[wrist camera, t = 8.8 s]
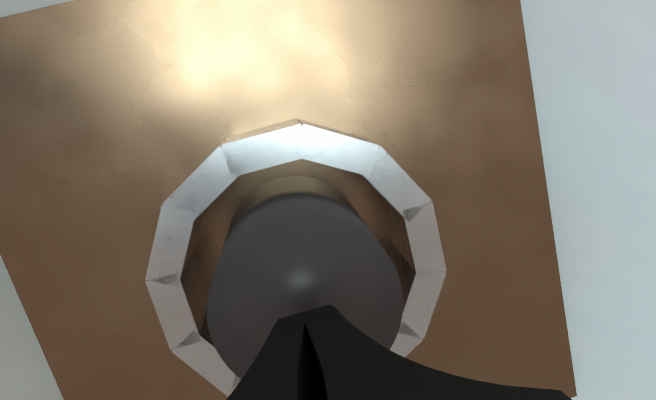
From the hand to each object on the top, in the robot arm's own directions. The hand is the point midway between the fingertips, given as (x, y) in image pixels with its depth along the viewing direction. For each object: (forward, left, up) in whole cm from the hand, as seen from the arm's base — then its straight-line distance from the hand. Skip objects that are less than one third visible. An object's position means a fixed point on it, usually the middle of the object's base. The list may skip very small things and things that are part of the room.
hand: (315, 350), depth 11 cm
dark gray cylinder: (0, 0, -8) cm, 8 cm away
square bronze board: (0, 0, -8) cm, 8 cm away
